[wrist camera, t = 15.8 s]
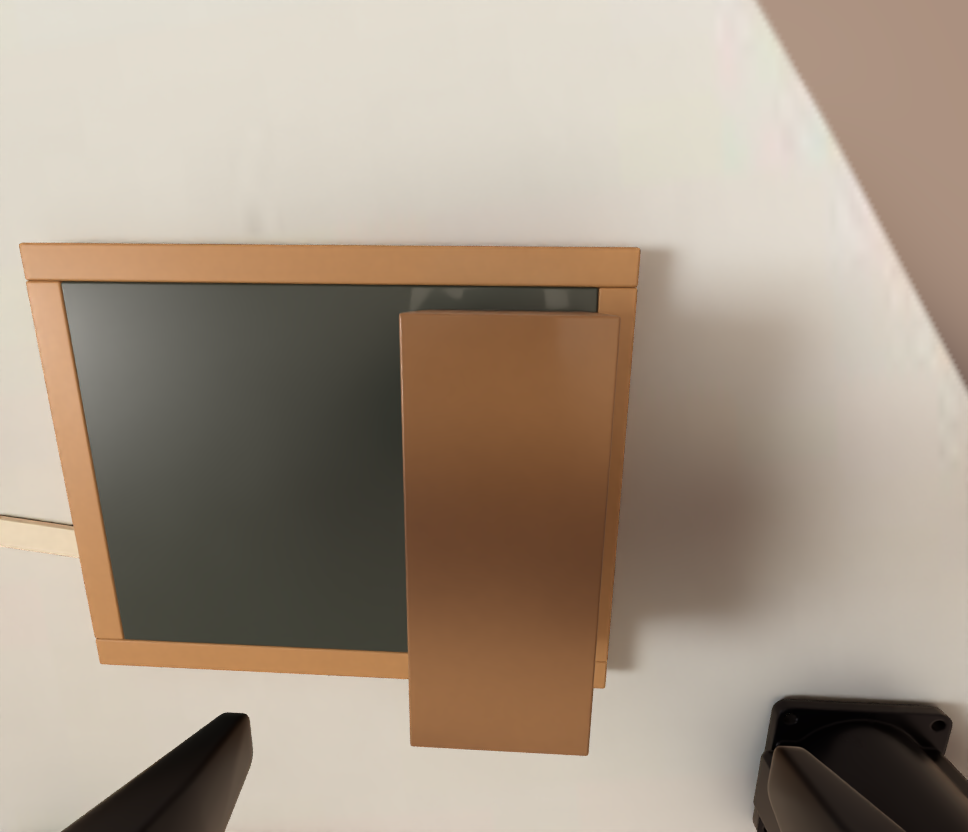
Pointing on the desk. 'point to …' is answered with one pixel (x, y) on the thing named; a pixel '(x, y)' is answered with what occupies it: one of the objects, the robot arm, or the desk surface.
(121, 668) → the desk surface
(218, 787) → the robot arm
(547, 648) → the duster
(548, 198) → the desk surface
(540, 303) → the chalkboard
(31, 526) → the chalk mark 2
